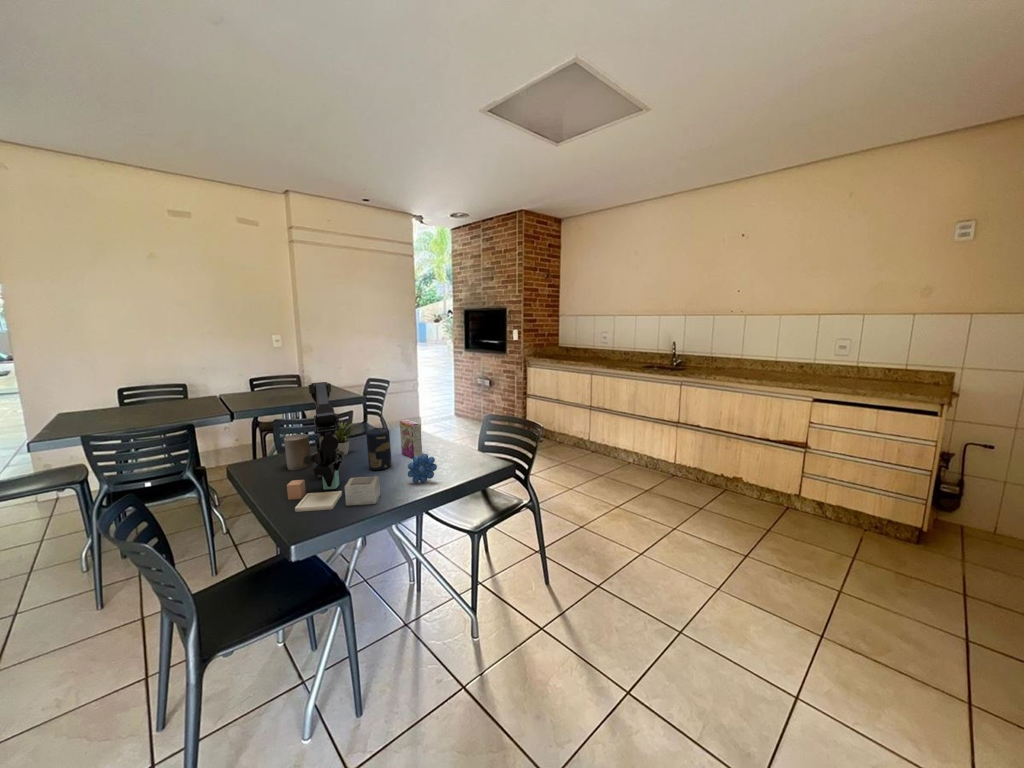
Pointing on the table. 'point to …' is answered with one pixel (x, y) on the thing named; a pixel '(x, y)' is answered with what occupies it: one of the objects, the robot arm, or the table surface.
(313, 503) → the tray
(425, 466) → the blue knobby flower
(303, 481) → the terracotta block
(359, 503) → the box
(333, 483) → the teal block
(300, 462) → the pillar candle
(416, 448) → the candy bar box
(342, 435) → the house plant
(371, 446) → the canister
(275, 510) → the table surface
